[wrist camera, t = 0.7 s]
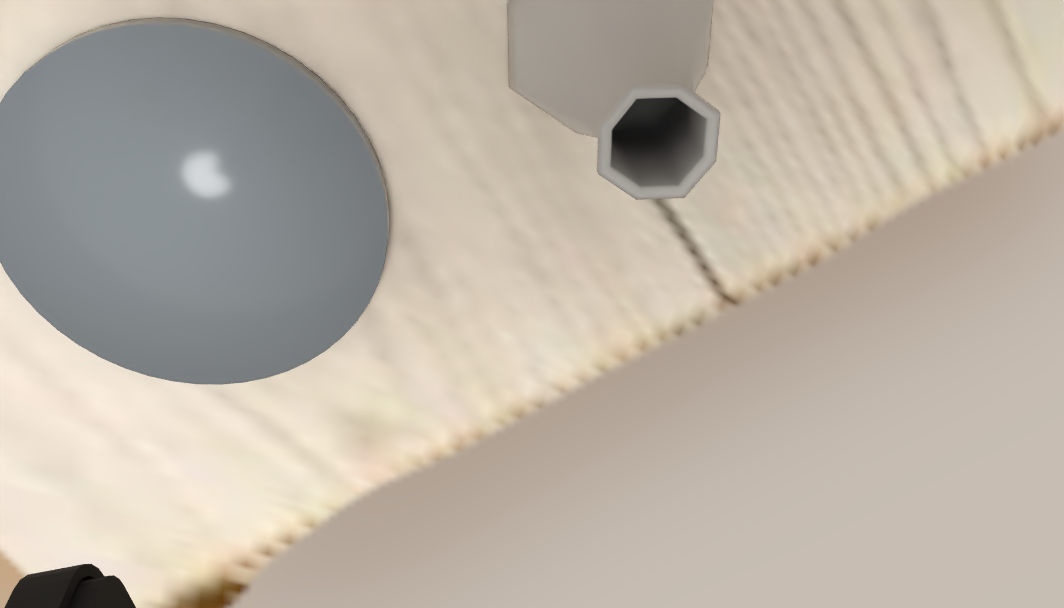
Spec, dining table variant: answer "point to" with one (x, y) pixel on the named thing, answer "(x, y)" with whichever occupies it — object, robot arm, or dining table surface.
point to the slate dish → (188, 201)
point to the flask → (622, 84)
